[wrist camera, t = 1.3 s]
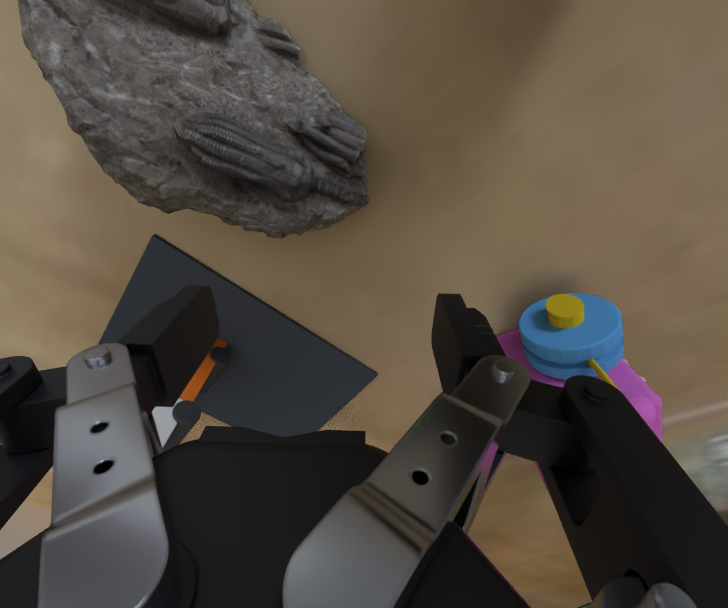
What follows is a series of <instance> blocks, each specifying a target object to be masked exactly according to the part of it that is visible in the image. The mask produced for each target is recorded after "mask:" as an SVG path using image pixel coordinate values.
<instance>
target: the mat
mask: <svg viewBox="0 0 728 608" xmlns="http://www.w3.org/2000/svg"><path fill="white" fill-rule="evenodd" d="M185 285H203V286H209V287H210V288H211V289H212V292H213V296H214V301H215V306H216V310H217V315H218V320H219V326H220V330H219V336H218V338H220V339H221V340H223V341H225V342H227V345H226V347H225V349H226V350H228V351H229V353H230V354H231V361H230V362H229V363H228V365H227V366H226V367H225V369H224V370H223V371H222V373H221V374H220V375H219V376H218V378H217V379H216V380H215V382H214V383H213V384H212V386H211V387H210V388H209V389H208V391H207V392H206V393H204V394H198V395H197V396H196V398H195V400H194V401H193V402H195V403H196V404H197V405H198V406H199V407H200V410H201V411H202V412H204V413H206V414H208V415H210V416H212V417H214V418H216V419H218V420H220V421H222V422H224V423H226V424H228V425H230V426H232V427H246V428H249V429H253V430H257V431H261V432H264V433H268V434H272V435H275V436H279V437H289V436H295V435H301V434H306V433H312V432H317V431H318V430H319V429H320V428H321V427H322V426H323V425H324V424H325V423H327V422H328V421H329V420H330V419H331V418H332V417H333V416H334V415H335V414H336V413H337V412H338V411H340V410H341V409H342V408H343V407H344V406H345V405H346V404H347V403H348V402H349V401H350V400H351V399H352V398H354V397H355V396H356V395H357V394H358V393H359V392H360V391H361V390H362V389H363V388H364V387H365V386H367V385H368V384H369V383H370V382H371V381H372V380H373V379H374V378H375V377H376V376H377V373H376V372H375V371H373V370H371V369H370V368H368V367H367V366H365V365H363V364H362V363H360V362H359V361H357V360H355V359H354V358H352V357H351V356H349V355H347V354H346V353H344V352H343V351H341V350H339V349H338V348H336V347H335V346H333V345H331V344H330V343H328V342H327V341H325V340H323V339H322V338H320V337H319V336H317V335H315V334H314V333H312V332H311V331H309V330H307V329H306V328H304V327H303V326H301V325H299V324H298V323H296V322H295V321H293V320H291V319H290V318H288V317H287V316H285V315H283V314H282V313H280V312H279V311H277V310H275V309H274V308H272V307H271V306H269V305H267V304H266V303H264V302H263V301H261V300H259V299H258V298H256V297H255V296H253V295H251V294H250V293H248V292H247V291H245V290H243V289H242V288H240V287H239V286H237V285H235V284H234V283H232V282H231V281H229V280H227V279H226V278H224V277H223V276H221V275H219V274H218V273H216V272H215V271H213V270H211V269H210V268H208V267H207V266H205V265H203V264H202V263H200V262H199V261H197V260H195V259H194V258H192V257H191V256H189V255H187V254H186V253H184V252H183V251H181V250H179V249H178V248H176V247H175V246H173V245H171V244H170V243H168V242H167V241H165V240H163V239H162V238H160V237H159V236H157V235H155V234H154V235H153V236H152V238H151V240H150V242H149V244H148V246H147V248H146V250H145V252H144V254H143V256H142V258H141V260H140V262H139V264H138V266H137V268H136V270H135V272H134V274H133V276H132V278H131V280H130V282H129V284H128V286H127V288H126V290H125V292H124V294H123V296H122V298H121V300H120V302H119V304H118V306H117V308H116V310H115V312H114V314H113V316H112V318H111V320H110V322H109V324H108V326H107V328H106V330H105V332H104V334H103V336H102V338H101V340H100V342H99V344H98V345H101V344H106V343H116V342H117V341H119V340H120V339H121V338H122V337H123V336H124V335H125V334H126V333H127V332H128V331H129V330H130V329H131V328H133V327H134V326H135V325H136V324H137V323H140V320H141V319H142V318H143V317H144V316H145V315H147V314H148V313H149V312H150V311H151V310H152V309H153V308H154V307H155V306H156V305H158V304H160V303H162V302H164V301H166V300H168V299H170V298H173V297H174V296H175V295H176V294H177V293H178V292H179V291H180V290H181V289H182V288H183V287H184V286H185Z"/></svg>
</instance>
